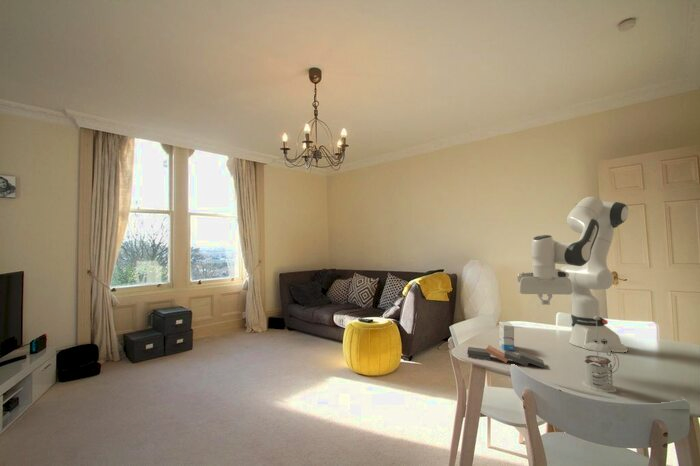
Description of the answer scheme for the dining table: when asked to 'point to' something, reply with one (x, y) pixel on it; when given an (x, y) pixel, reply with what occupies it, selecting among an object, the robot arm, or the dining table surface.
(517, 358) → the domino
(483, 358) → the domino
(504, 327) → the ink box
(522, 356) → the domino
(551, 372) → the dining table surface
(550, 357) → the dining table surface
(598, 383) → the french press
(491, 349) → the domino
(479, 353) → the domino
